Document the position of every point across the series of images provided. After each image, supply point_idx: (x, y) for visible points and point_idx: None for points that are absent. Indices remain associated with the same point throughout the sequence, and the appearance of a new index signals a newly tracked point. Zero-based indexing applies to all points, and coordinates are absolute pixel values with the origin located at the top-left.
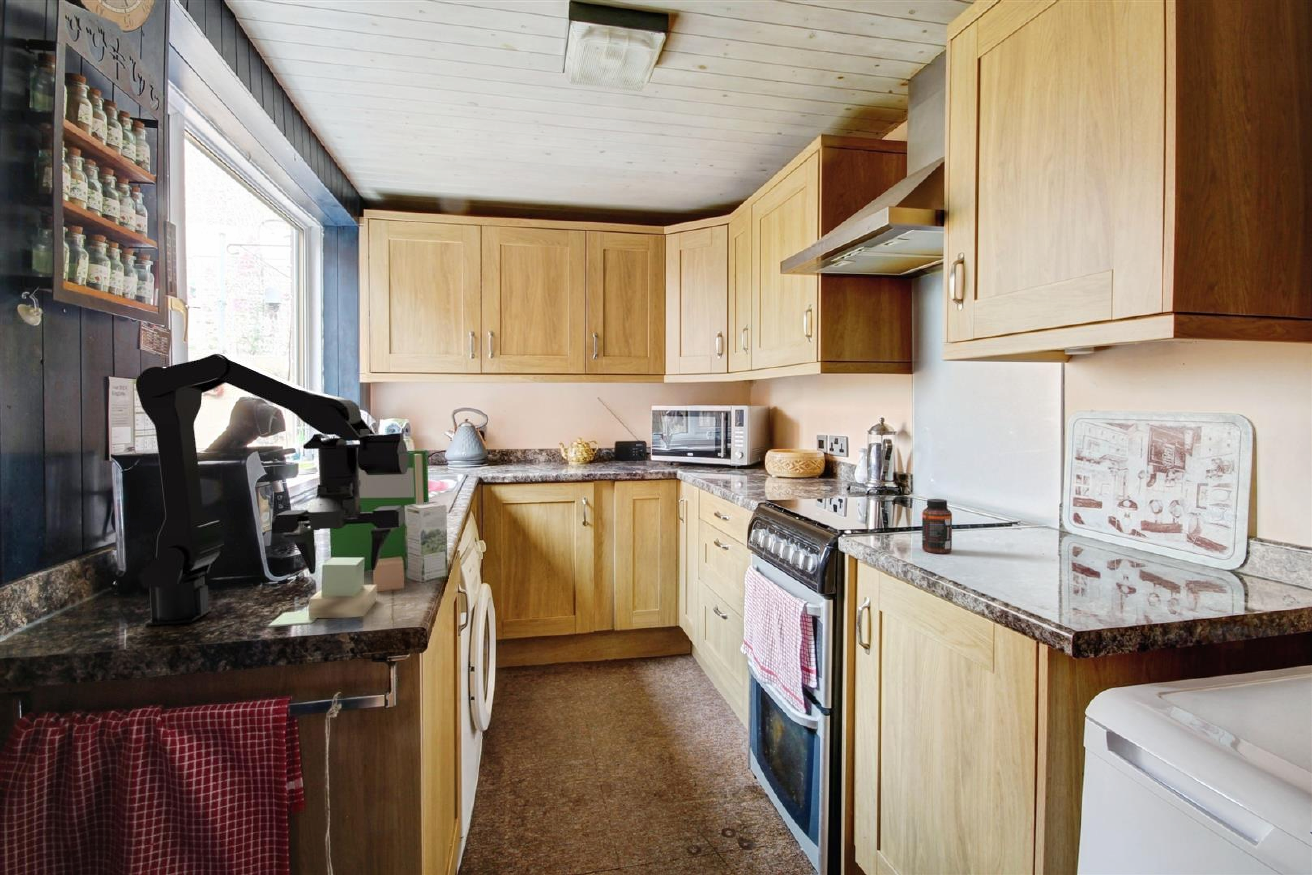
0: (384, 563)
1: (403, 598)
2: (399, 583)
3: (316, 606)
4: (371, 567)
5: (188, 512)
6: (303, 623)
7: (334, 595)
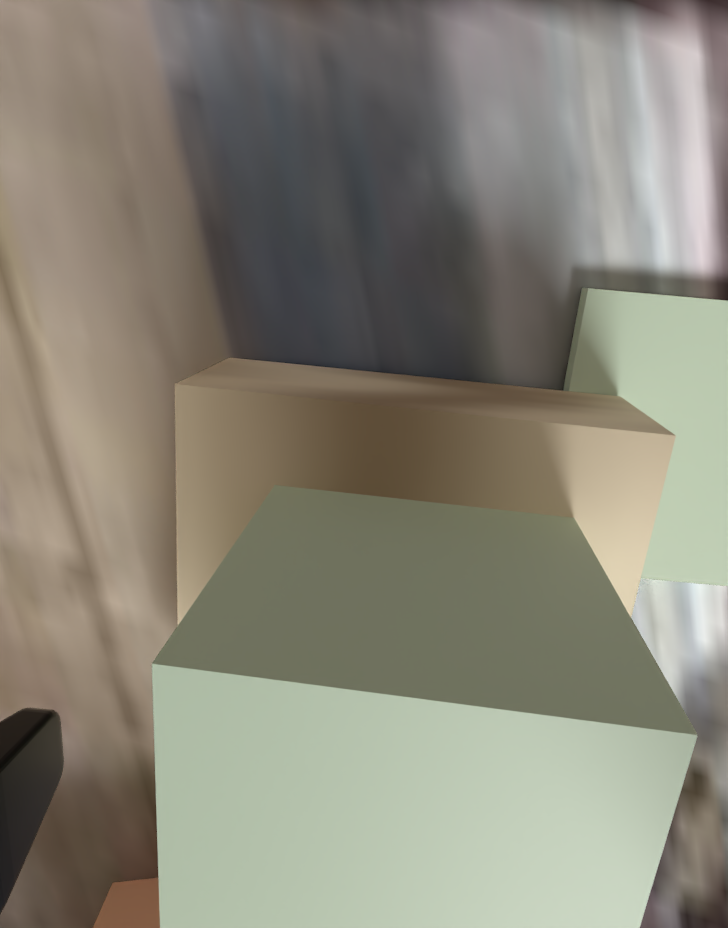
0: None
1: (59, 698)
2: (123, 919)
3: (586, 411)
4: (31, 726)
5: None
6: (642, 293)
7: (457, 508)
